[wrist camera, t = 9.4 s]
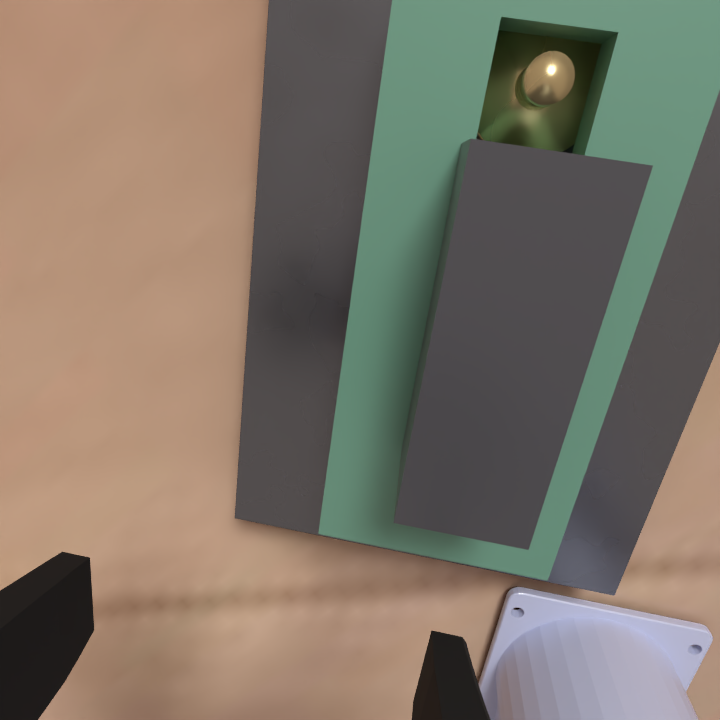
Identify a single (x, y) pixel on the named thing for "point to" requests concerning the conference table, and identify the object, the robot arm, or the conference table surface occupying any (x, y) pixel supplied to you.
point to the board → (407, 216)
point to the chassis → (338, 259)
